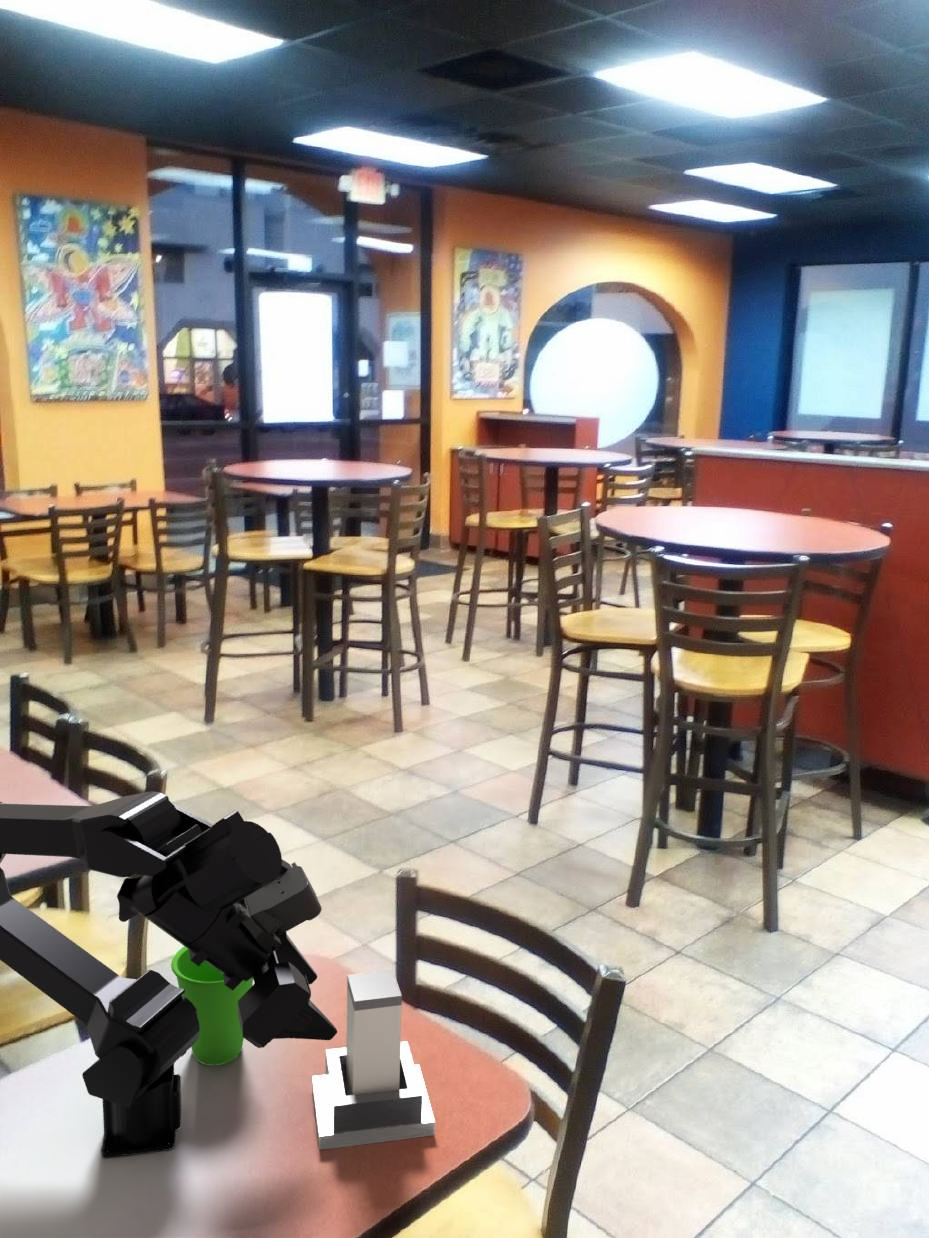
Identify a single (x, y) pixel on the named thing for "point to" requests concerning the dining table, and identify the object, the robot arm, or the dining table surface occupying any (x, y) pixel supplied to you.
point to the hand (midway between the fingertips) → (323, 1006)
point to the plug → (373, 1032)
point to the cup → (211, 1009)
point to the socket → (370, 1106)
